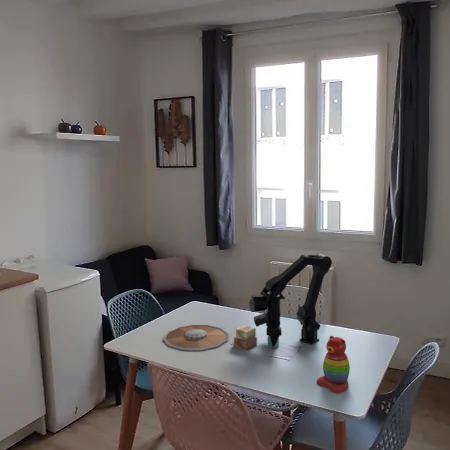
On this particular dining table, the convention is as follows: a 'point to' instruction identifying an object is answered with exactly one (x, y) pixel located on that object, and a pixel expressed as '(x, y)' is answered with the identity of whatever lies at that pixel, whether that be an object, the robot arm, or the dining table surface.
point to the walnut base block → (245, 343)
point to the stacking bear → (335, 366)
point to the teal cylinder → (271, 343)
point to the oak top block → (245, 333)
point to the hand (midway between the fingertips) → (273, 343)
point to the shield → (196, 337)
